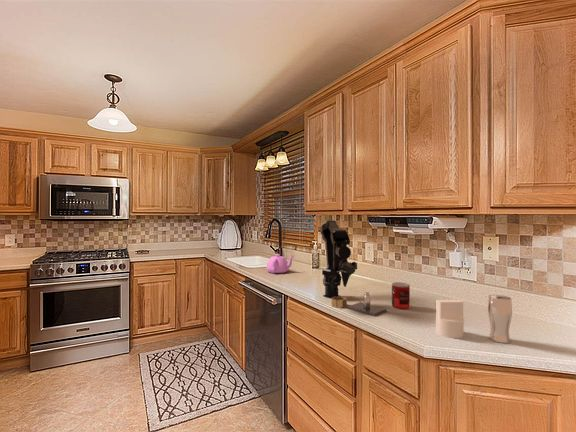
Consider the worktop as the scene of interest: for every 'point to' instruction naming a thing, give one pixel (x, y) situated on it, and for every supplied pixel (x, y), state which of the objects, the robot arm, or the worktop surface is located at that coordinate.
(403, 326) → the worktop surface
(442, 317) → the base with upright slab
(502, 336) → the beer glass
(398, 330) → the worktop surface
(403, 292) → the canned food
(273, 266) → the teapot
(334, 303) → the ring
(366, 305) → the shaft stand
